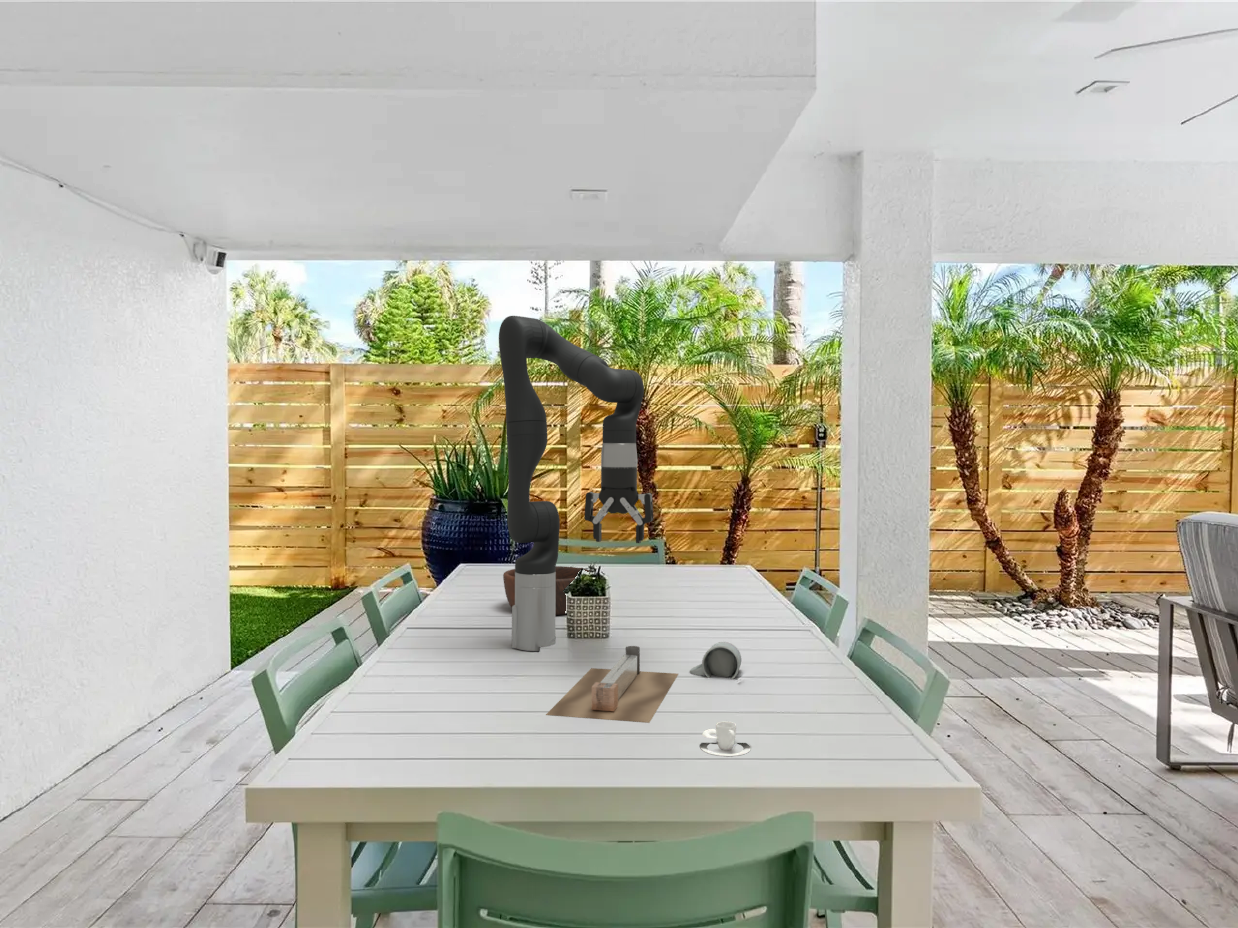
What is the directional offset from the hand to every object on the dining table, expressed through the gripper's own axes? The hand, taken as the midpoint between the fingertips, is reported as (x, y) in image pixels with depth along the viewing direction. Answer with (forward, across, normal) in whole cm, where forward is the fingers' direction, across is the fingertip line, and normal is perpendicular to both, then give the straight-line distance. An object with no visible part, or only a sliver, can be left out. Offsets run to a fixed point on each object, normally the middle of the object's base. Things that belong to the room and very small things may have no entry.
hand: (618, 542), depth 195 cm
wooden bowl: (+26, -32, +56) cm, 70 cm away
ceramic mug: (+26, +21, -5) cm, 34 cm away
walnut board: (+26, +5, -23) cm, 35 cm away
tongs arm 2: (+25, +6, -23) cm, 34 cm away
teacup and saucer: (+27, +28, -42) cm, 58 cm away
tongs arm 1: (+25, +4, -23) cm, 34 cm away
